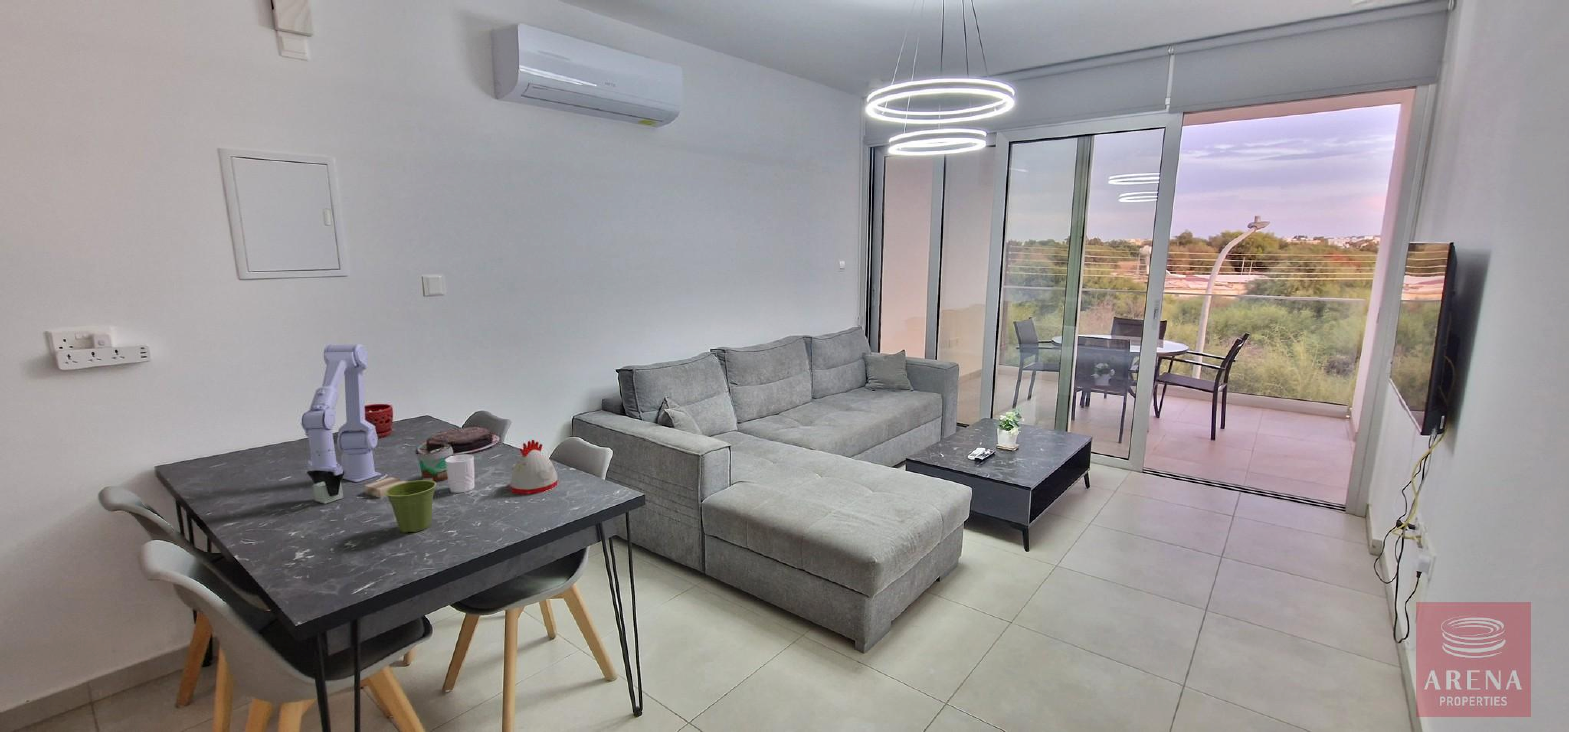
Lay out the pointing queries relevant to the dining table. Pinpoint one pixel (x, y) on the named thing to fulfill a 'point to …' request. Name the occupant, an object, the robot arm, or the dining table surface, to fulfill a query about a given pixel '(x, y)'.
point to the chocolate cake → (461, 440)
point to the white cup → (460, 472)
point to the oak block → (381, 487)
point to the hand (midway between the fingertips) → (328, 493)
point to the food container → (435, 463)
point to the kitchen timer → (532, 471)
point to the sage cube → (325, 493)
